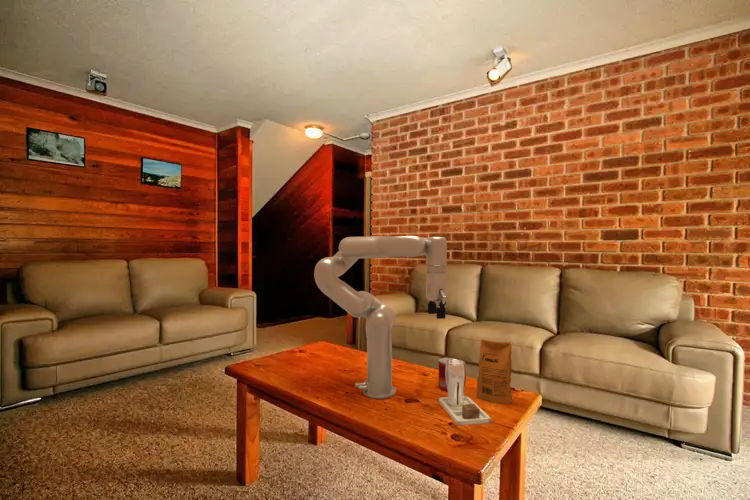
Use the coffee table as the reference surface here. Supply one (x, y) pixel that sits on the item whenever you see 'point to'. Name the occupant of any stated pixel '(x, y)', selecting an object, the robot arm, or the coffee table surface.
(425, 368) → the coffee table surface
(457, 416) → the tray
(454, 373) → the beer glass
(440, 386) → the canned food
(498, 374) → the coffee package
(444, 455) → the coffee table surface
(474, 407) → the walnut block
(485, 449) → the coffee table surface
